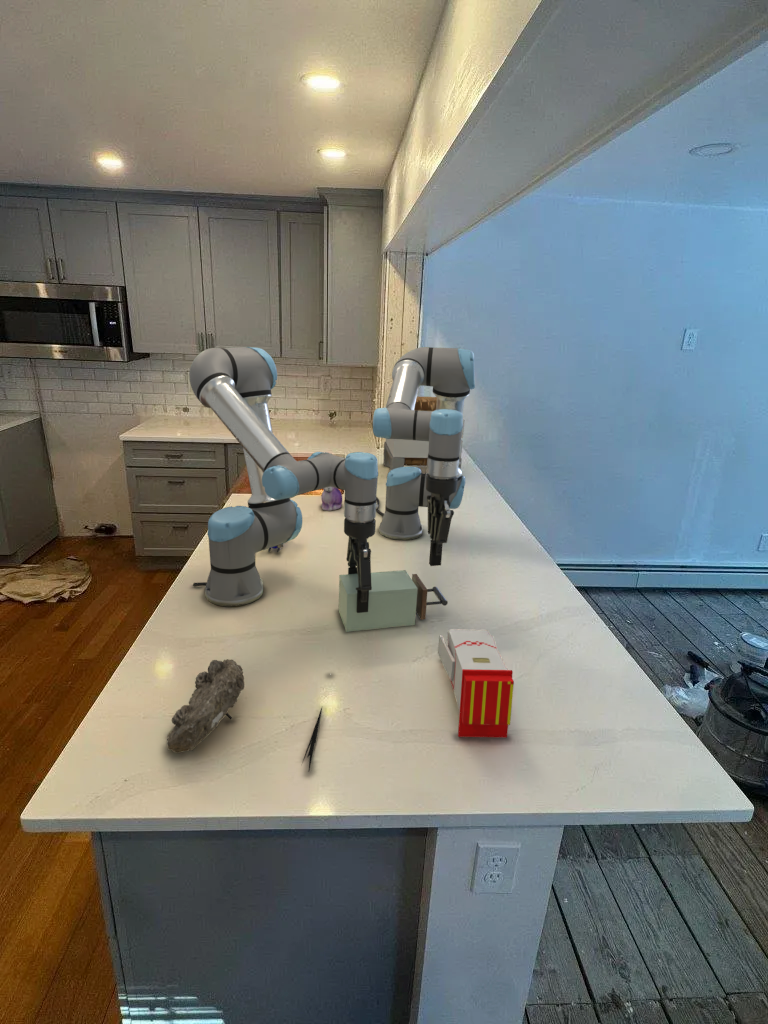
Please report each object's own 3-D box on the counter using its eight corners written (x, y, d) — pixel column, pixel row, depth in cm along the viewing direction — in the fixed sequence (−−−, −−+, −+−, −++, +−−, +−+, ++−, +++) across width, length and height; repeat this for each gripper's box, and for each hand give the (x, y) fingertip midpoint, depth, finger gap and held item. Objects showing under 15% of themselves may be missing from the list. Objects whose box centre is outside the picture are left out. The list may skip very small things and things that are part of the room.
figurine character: (283, 559, 179) (290, 536, 192) (282, 538, 176) (289, 516, 189) (262, 558, 179) (270, 535, 192) (261, 537, 175) (269, 515, 189)
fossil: (192, 660, 117) (244, 628, 112) (224, 691, 120) (276, 661, 115) (142, 746, 98) (202, 712, 93) (182, 779, 101) (242, 748, 96)
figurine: (325, 512, 217) (325, 474, 211) (315, 504, 225) (315, 467, 220) (347, 509, 221) (348, 472, 216) (337, 501, 229) (337, 465, 224)
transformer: (382, 463, 289) (386, 382, 275) (445, 464, 293) (451, 384, 279) (390, 482, 257) (394, 392, 243) (460, 483, 261) (468, 394, 247)
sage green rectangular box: (403, 605, 152) (405, 570, 149) (414, 625, 143) (417, 588, 139) (338, 610, 148) (339, 574, 144) (346, 631, 138) (347, 593, 135)
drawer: (435, 600, 153) (438, 572, 151) (447, 617, 145) (450, 587, 142) (355, 607, 148) (356, 578, 145) (362, 625, 140) (363, 595, 137)
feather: (331, 679, 122) (336, 673, 122) (307, 777, 96) (313, 769, 95) (324, 675, 122) (329, 669, 121) (298, 772, 95) (304, 764, 95)
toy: (488, 613, 130) (523, 677, 101) (484, 667, 133) (517, 744, 104) (435, 612, 130) (455, 676, 101) (432, 666, 133) (451, 743, 103)
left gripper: (387, 535, 125) (383, 622, 133) (364, 501, 146) (362, 579, 153) (354, 537, 123) (351, 626, 131) (336, 503, 144) (334, 581, 152)
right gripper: (467, 482, 131) (458, 574, 139) (447, 467, 143) (440, 553, 151) (436, 483, 129) (429, 577, 137) (418, 468, 141) (413, 555, 149)
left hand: (357, 600), depth 142 cm, fingers closed on sage green rectangular box, 10 cm apart
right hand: (434, 564), depth 144 cm, fingers closed
